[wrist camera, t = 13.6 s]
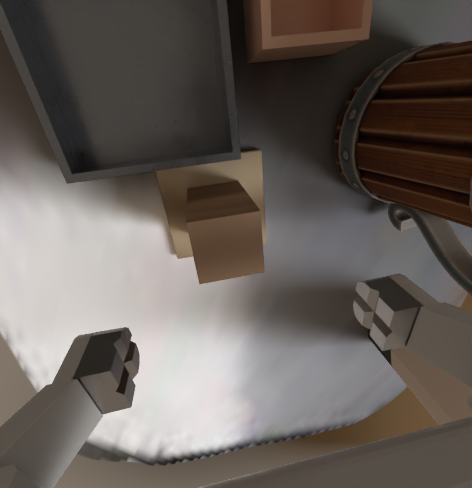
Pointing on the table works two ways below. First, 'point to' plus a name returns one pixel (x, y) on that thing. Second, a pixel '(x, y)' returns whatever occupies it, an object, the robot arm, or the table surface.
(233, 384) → the table surface
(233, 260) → the walnut block
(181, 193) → the light wooden board
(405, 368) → the wine bottle
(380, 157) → the mug
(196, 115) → the tin
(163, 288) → the table surface
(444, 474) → the robot arm
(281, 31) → the terracotta pot
